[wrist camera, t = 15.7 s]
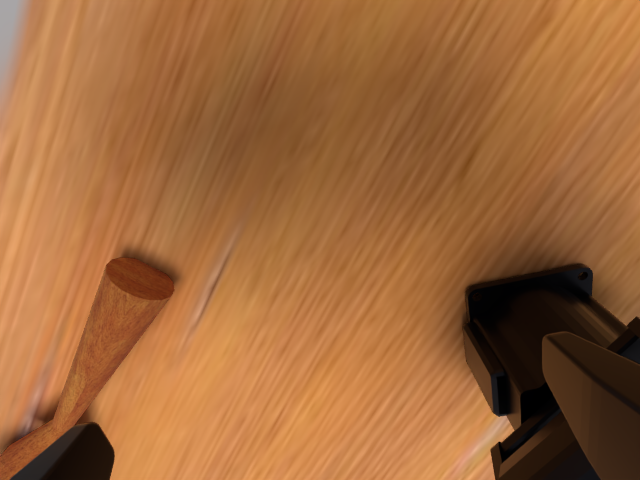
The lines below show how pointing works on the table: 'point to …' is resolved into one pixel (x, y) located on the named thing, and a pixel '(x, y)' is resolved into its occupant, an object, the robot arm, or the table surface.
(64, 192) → the table surface
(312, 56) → the table surface
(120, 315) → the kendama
